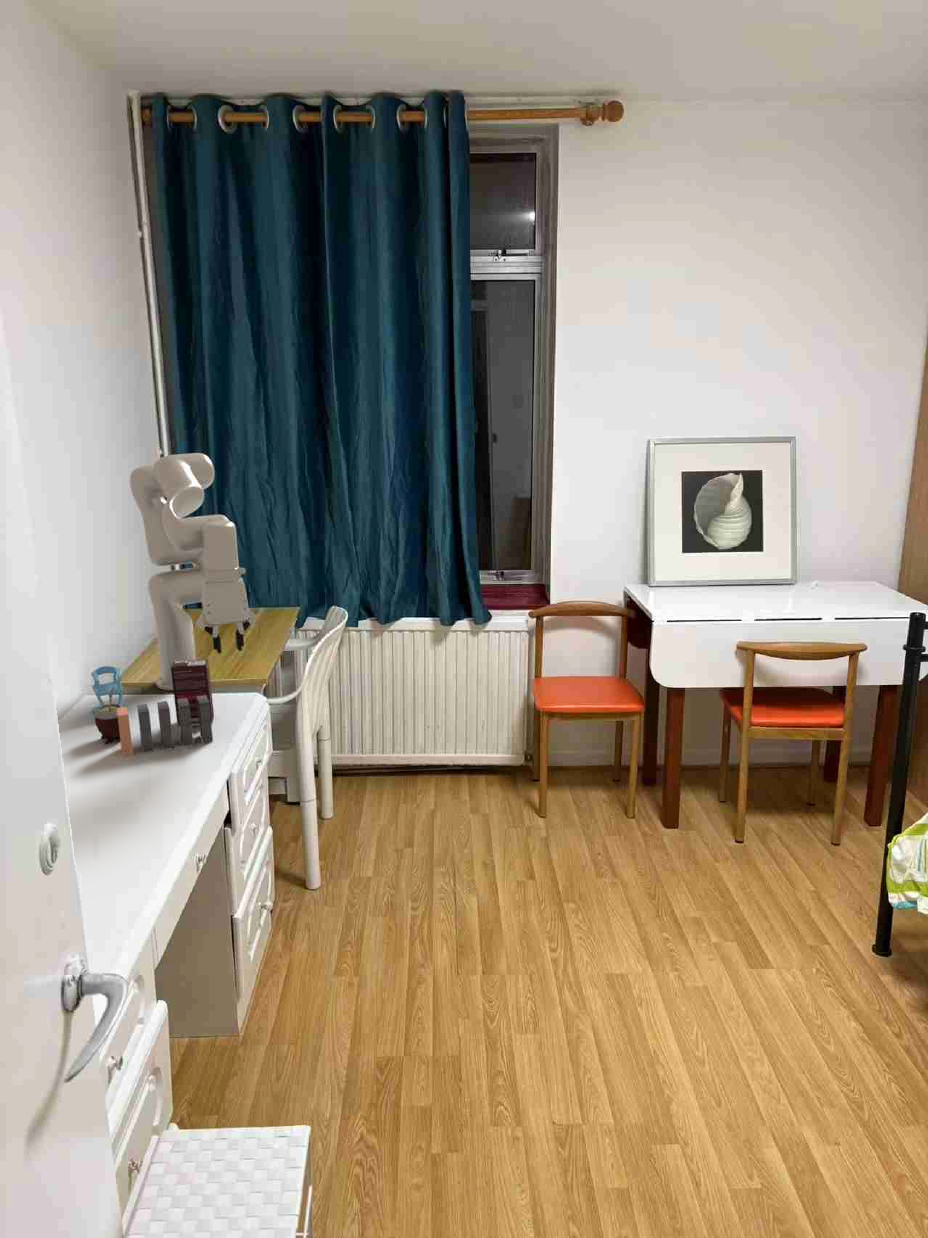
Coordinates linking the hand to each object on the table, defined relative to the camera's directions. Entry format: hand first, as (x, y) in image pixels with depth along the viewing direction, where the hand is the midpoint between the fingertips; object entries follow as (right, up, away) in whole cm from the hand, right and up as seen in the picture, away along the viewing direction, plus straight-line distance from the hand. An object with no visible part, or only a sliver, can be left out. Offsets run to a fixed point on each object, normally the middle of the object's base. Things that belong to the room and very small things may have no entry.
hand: (229, 649), depth 225 cm
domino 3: (-10, -22, +2) cm, 24 cm away
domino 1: (-19, -23, -1) cm, 30 cm away
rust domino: (-23, -23, -3) cm, 33 cm away
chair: (-35, -17, +19) cm, 43 cm away
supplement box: (-11, -19, +13) cm, 25 cm away
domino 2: (-15, -22, 0) cm, 27 cm away
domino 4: (-6, -21, +4) cm, 22 cm away
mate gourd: (-28, -22, +3) cm, 36 cm away
